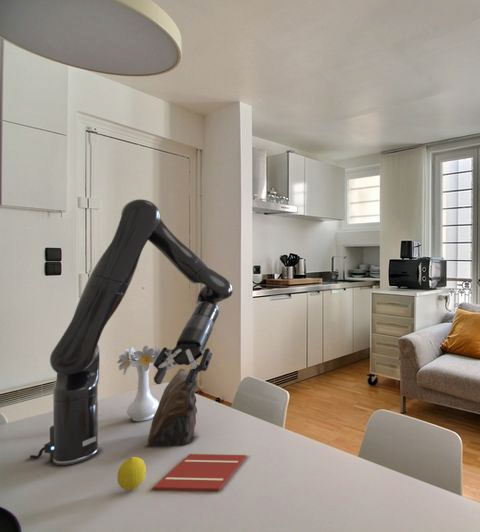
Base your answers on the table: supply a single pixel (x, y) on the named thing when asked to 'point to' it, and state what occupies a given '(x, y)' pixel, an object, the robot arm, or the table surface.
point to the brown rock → (175, 414)
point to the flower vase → (141, 382)
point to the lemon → (131, 473)
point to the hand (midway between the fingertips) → (172, 383)
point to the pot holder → (201, 472)
